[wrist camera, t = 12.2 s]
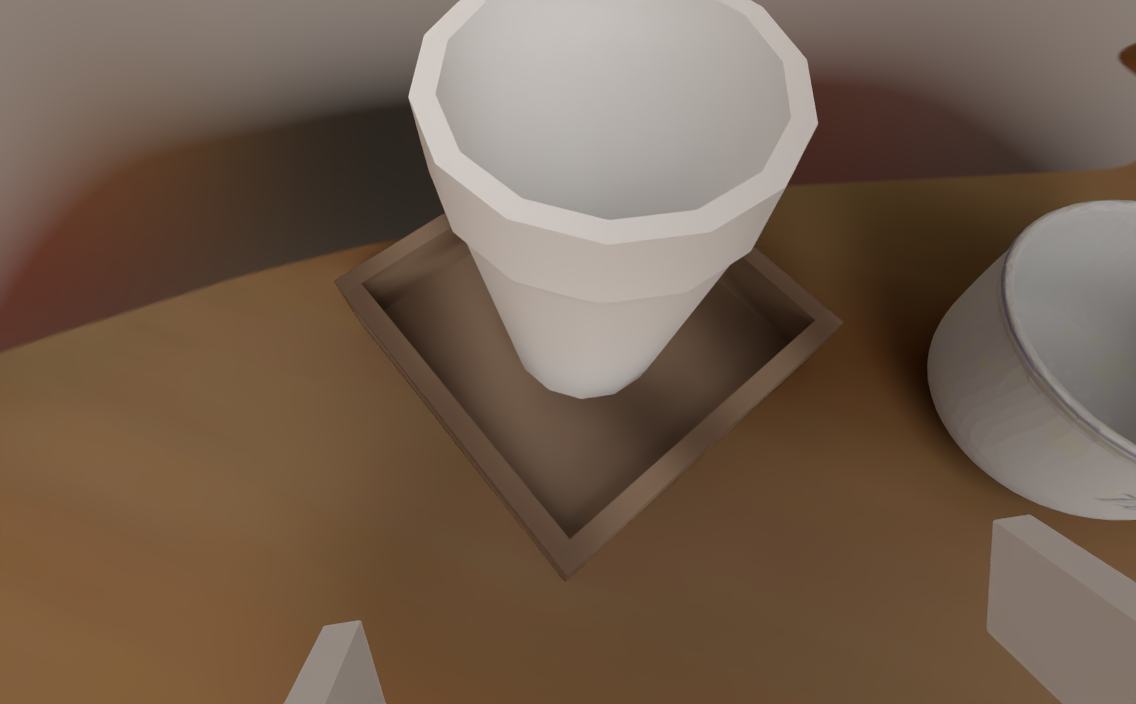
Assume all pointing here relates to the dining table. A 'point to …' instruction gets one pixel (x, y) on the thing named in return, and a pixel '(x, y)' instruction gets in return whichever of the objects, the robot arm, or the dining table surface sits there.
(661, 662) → the dining table surface
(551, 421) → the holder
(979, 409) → the teacup
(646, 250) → the foam cup
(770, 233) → the dining table surface
